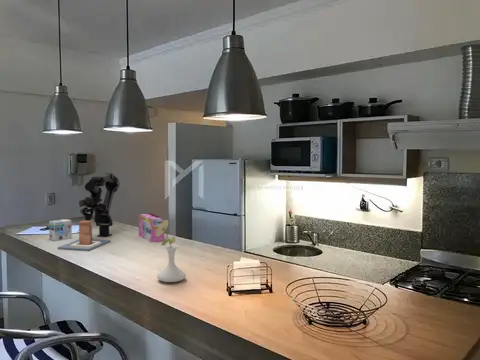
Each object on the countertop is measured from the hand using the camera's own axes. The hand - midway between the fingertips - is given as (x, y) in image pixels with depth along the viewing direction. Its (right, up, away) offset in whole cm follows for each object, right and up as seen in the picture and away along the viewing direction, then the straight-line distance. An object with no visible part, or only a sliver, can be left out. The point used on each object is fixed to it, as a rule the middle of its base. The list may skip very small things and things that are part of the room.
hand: (91, 223), depth 223 cm
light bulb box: (-22, -10, +11) cm, 27 cm away
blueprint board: (-1, -11, -5) cm, 12 cm away
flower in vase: (+55, -16, -63) cm, 85 cm away
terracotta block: (+1, -11, -9) cm, 14 cm away
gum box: (+30, -11, +17) cm, 36 cm away
